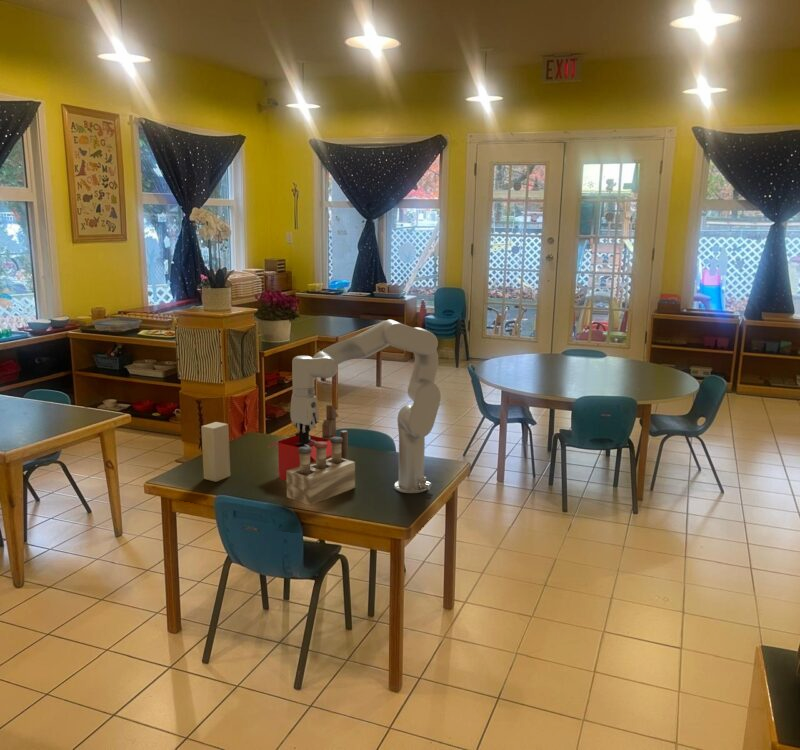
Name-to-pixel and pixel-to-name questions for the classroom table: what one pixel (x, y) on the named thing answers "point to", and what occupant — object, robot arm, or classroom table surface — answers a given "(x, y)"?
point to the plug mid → (320, 455)
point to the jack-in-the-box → (296, 452)
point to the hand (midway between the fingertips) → (304, 442)
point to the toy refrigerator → (215, 451)
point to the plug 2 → (336, 449)
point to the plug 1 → (304, 460)
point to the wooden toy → (334, 430)
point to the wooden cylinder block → (320, 481)
